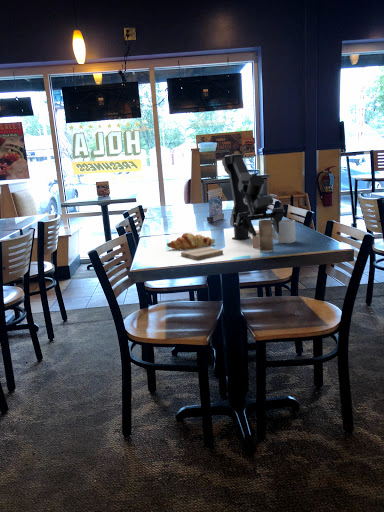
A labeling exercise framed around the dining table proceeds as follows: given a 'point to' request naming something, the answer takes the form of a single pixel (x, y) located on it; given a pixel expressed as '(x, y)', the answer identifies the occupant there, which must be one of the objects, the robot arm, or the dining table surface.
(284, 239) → the cup
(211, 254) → the walnut board
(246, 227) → the robot arm
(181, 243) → the croissant
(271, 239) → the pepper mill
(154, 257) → the dining table surface
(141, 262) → the dining table surface
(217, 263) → the dining table surface
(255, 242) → the marked block
